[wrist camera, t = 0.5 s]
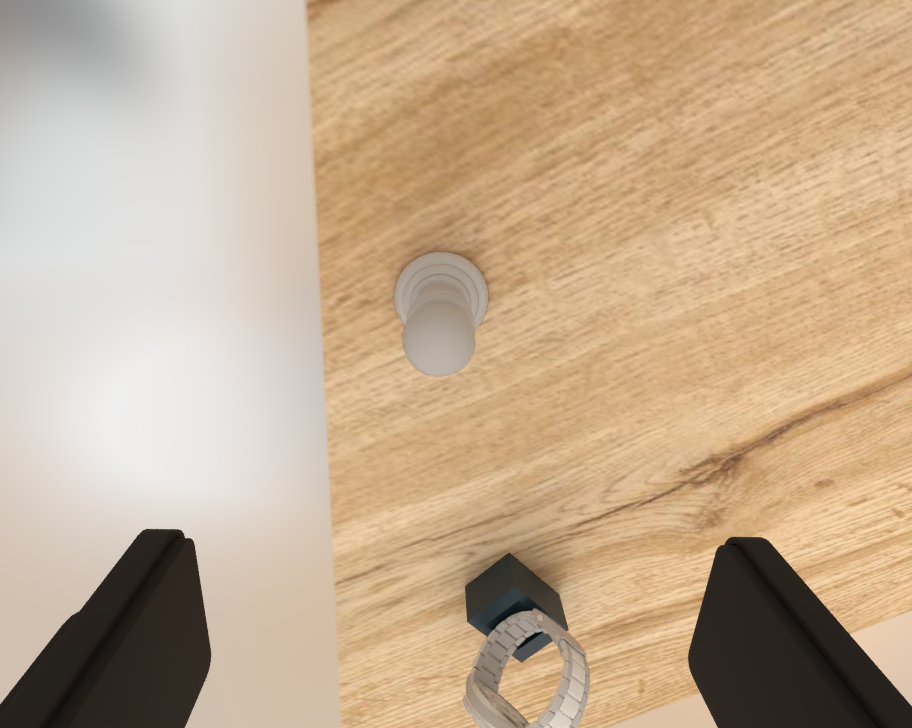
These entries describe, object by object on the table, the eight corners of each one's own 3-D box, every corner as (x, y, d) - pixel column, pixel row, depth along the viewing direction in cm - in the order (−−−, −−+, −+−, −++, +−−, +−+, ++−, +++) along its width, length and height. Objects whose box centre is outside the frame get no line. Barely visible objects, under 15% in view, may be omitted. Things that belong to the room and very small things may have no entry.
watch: (446, 601, 40) (447, 758, 30) (528, 538, 38) (560, 683, 28) (497, 640, 42) (515, 801, 31) (578, 582, 40) (626, 734, 29)
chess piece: (408, 348, 32) (397, 419, 24) (383, 262, 30) (362, 306, 22) (495, 329, 32) (515, 394, 24) (476, 240, 30) (491, 277, 22)
